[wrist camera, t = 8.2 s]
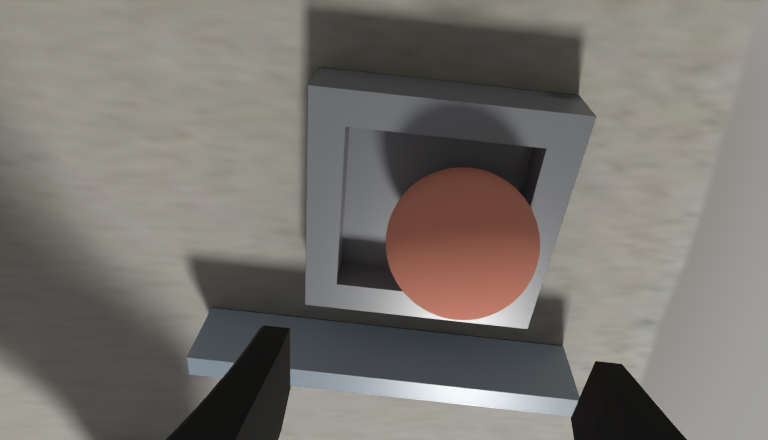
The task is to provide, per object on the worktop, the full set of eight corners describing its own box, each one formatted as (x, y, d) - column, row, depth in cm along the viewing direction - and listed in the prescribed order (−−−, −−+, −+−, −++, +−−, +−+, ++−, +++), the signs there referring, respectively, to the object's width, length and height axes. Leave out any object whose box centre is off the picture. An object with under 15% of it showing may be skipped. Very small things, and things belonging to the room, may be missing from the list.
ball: (477, 252, 21) (549, 337, 17) (361, 269, 20) (411, 367, 16) (503, 138, 19) (594, 208, 15) (371, 146, 17) (434, 228, 13)
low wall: (557, 361, 24) (573, 416, 21) (213, 324, 24) (189, 374, 21) (563, 346, 23) (580, 400, 21) (211, 307, 23) (186, 357, 21)
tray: (519, 296, 22) (527, 329, 20) (313, 273, 22) (305, 304, 20) (579, 95, 17) (596, 116, 16) (318, 67, 17) (308, 85, 16)
